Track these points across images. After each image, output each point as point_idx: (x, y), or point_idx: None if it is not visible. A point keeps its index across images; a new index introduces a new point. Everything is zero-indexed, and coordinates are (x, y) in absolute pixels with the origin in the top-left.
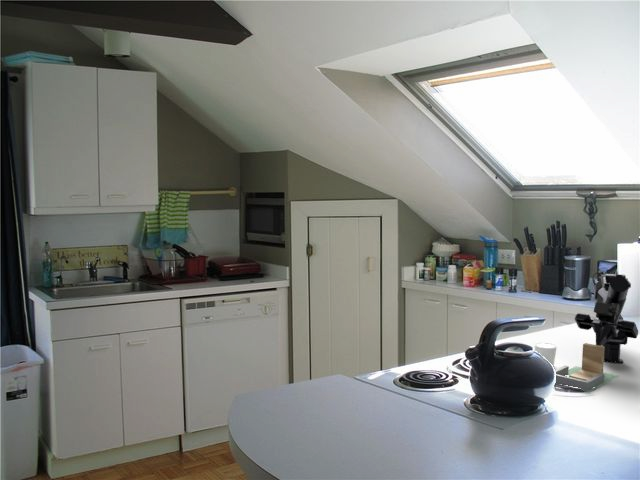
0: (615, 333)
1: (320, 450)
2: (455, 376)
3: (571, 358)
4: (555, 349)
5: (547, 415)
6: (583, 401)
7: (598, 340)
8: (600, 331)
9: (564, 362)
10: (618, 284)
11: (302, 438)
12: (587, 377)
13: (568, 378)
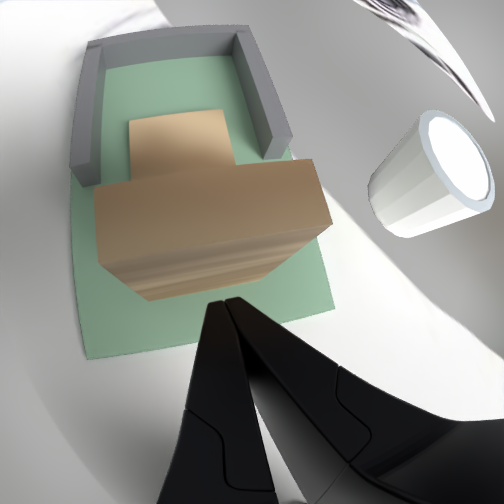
0: None
1: None
2: (374, 8)
3: (422, 408)
4: (422, 167)
5: None
6: (80, 24)
7: (248, 343)
8: (349, 488)
9: (404, 328)
10: None
11: None
12: (148, 143)
13: (163, 29)
